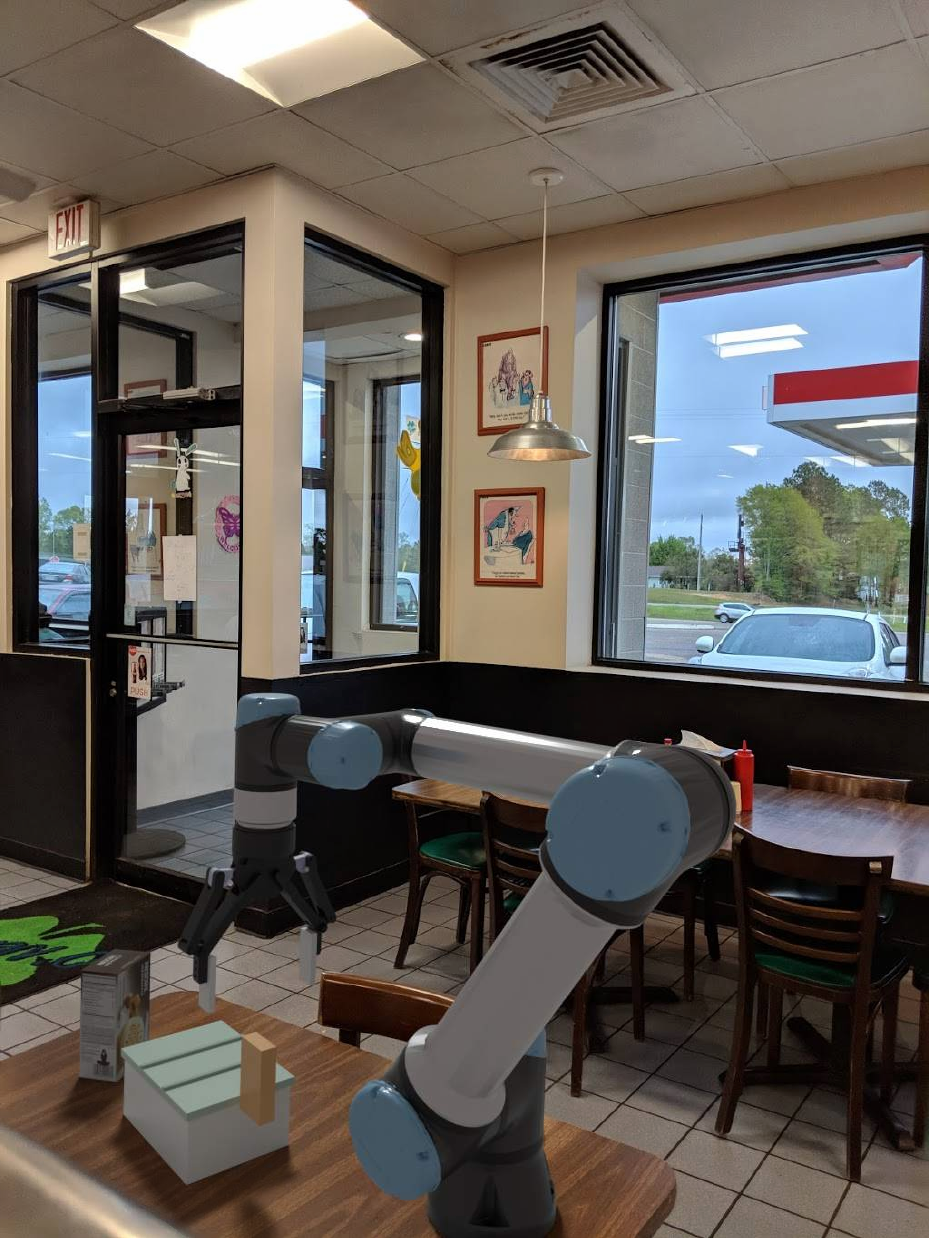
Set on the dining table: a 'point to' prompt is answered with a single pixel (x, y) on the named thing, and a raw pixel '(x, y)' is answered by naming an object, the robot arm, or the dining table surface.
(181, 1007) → the dining table surface
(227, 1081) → the lid
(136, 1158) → the dining table surface
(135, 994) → the coffee box
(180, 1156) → the tub
